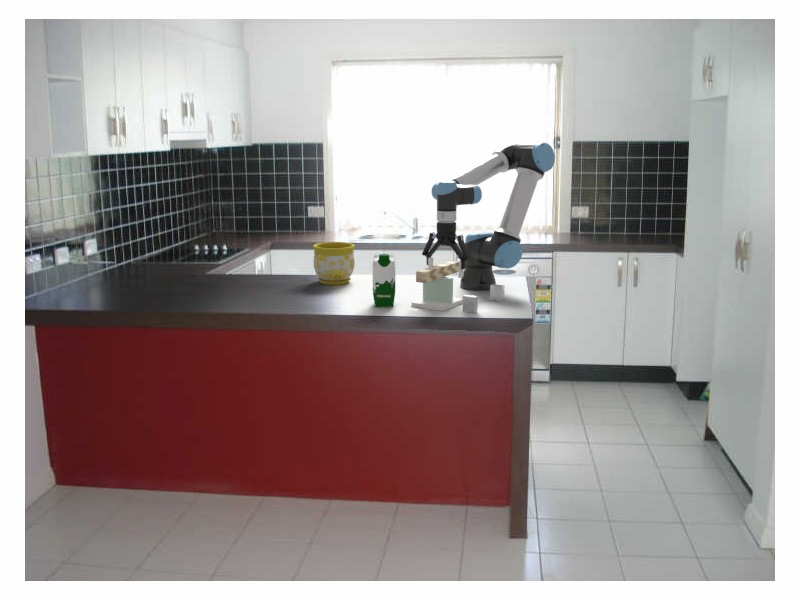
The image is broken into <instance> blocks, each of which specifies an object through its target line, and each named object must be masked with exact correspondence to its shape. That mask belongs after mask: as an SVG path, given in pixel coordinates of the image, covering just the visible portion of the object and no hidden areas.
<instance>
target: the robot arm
mask: <svg viewBox="0 0 800 600" xmlns="http://www.w3.org/2000/svg"><path fill="white" fill-rule="evenodd" d="M555 155H556V154H555V152H554V148H553V147H552V146H551V145H550V144H549V143H548V142H542V141H538V140H537V141H531V140H529V141H527V140H518V141H515V142H511V143H509V144H507V145H505V146H502V147H501V148H499V149H497V150H495V151H494V152H493V153H492V154H491V156H490V157H488V158H486V159H484V160H482V161H481V162H479V163H477V164H475V165H473V166H472V167H470V168H468V169H466V170H463V172H461V173H459V174H457V175H455V176H453V177H452V178H450V179H448V180H440V181H438V182H435V183H434V184H433V185H432V187H431V195H432V197H433V199H434V200H436V221H437V222H436V233H435V232H434V231H433V232H430V233H429V234H428V235H429V236H428V239H427V242H426V244H425V246H424V249H423V251H422V253H421V254H422V256H424V257H425V258H426V266H427V268H429V267H432V266H434V256H433V255H434V254H435V253H436V251H437V250H438V248H440V247H441V246H446V247H450V248H452V250H453V251H454V253H455V254H456V257H458V259H459V260H458V262H459V272H458V279H460V285H459V287H461V288H462V289H466V290H474V291H486V290H490V285H492V284H497V281H496V278H495V274H494V270H493V267H497V268H499V269H508V270H509V269H512V268H513V267H516V266H517V265H518V264H519V263H520V261H521V259H522V257H523V250H522V249H523V247H522V245H521V241H522V239H521V237H520V233H521V230H522V228H523V225H524V222H525V219H526V216H527V213H528V210H529V207H530V204H531V201H532V198H533V197H534V193H535V190H536V187H537V185H538V182H539V181H540V180H543V178H544V175H545V173H546V172H549V171H550V170H552V169H553V167H554V165H555V161H556V159H555V157H556V156H555ZM511 170H516V173H517V177H516V179H515V182H514V184H513V187H512V190H511V194H510V195H509V199H508V202H507V204H506V207H505V211H504V213H503V216H502V219H501V221H500V225H499V228H497V229H495V230H494V231H493V232H491V231H490V232H488V231H487V232H476V233H475V232H474V233H468V234H467V235H466V236H465V240H464V235H463V234H460V235H457V233H456V232H457V222H456V221H457V207H458V206H463V205H465V206H466V205H471V206H472V205H474V204H478V203H480V201H481V200H482V197H483V195H482V194H483V192H482V189H481V187H480V186H479V184H481V183H483V182H486V181H487V180H489V179H490V178H492V177H494V176H496V175H498V174H499V173H506V172H508V171H511ZM435 239H436V240H437V241H436V242H435V241H434V240H435ZM434 242H435V244H433V243H434ZM457 242H458V243H457ZM458 245H459V246H458Z"/></svg>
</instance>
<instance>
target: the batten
mask: <svg viewBox="0 0 800 600" xmlns="http://www.w3.org/2000/svg"><path fill="white" fill-rule="evenodd" d="M456 273H457V274H458V273H459V261H454V260H449V261H446V262H442V263H439V264H436V265H433V266H432V267H429V268H428V267H425V268H423V269H420V270H417V271H416V272H415V282H416V283H420V284H421V283H422V284H423V283H427V282H430V281H433V280H436V279H439V278H442V277H449V276H451V275H454V274H456Z"/></svg>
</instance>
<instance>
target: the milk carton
mask: <svg viewBox="0 0 800 600" xmlns="http://www.w3.org/2000/svg"><path fill="white" fill-rule="evenodd" d="M372 297H373V301H374V307H375V308H394V304H395V297H396V261H395V258H394V257H390V254H389V253H382V254H381V253H380V254H378V257H374V258H373V262H372Z"/></svg>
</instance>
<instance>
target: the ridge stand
mask: <svg viewBox="0 0 800 600" xmlns="http://www.w3.org/2000/svg"><path fill="white" fill-rule="evenodd" d="M461 304H462V305H463V298H459V297H454V277H449V276H445V277H442V278H439V279H436V280H433V281H430V282H427V283H422V298H420V299H418V300H414V301H412V302H411V307H413V306H414V307H415V308H421V309H427V310H435V311H440V312H445V311H447V310H449V309H451V308H454V307H457V306H459V305H461ZM414 307H413V308H414Z"/></svg>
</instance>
